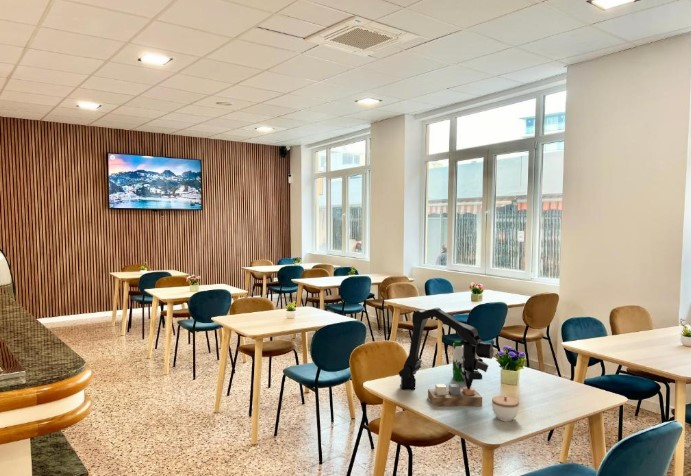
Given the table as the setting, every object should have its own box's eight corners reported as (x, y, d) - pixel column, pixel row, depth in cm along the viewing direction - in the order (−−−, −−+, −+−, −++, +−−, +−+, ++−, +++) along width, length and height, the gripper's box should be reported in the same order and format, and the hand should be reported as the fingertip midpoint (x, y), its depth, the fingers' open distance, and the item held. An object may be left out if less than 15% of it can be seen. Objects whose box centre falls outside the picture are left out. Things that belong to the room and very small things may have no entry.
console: (433, 406, 216) (433, 397, 216) (427, 397, 227) (428, 389, 227) (482, 406, 217) (482, 397, 217) (473, 397, 228) (474, 388, 228)
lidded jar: (503, 425, 197) (504, 402, 197) (486, 415, 207) (486, 393, 207) (524, 421, 201) (524, 399, 201) (505, 411, 211) (506, 390, 211)
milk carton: (451, 376, 258) (451, 339, 257) (468, 376, 258) (469, 339, 257) (454, 381, 249) (455, 343, 249) (472, 382, 249) (473, 343, 249)
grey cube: (451, 395, 220) (451, 386, 220) (449, 392, 224) (449, 383, 224) (460, 395, 220) (460, 386, 220) (457, 392, 224) (457, 383, 224)
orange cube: (465, 399, 220) (465, 390, 220) (462, 395, 224) (463, 387, 224) (474, 398, 220) (474, 390, 220) (471, 395, 224) (471, 387, 224)
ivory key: (437, 395, 219) (437, 387, 219) (435, 392, 223) (435, 384, 223) (446, 395, 220) (446, 386, 219) (443, 392, 224) (443, 383, 223)
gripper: (494, 360, 213) (493, 395, 213) (479, 349, 231) (478, 381, 232) (469, 361, 212) (468, 396, 213) (456, 349, 231) (455, 382, 231)
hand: (468, 388), depth 222 cm, fingers closed, pressing on orange cube
